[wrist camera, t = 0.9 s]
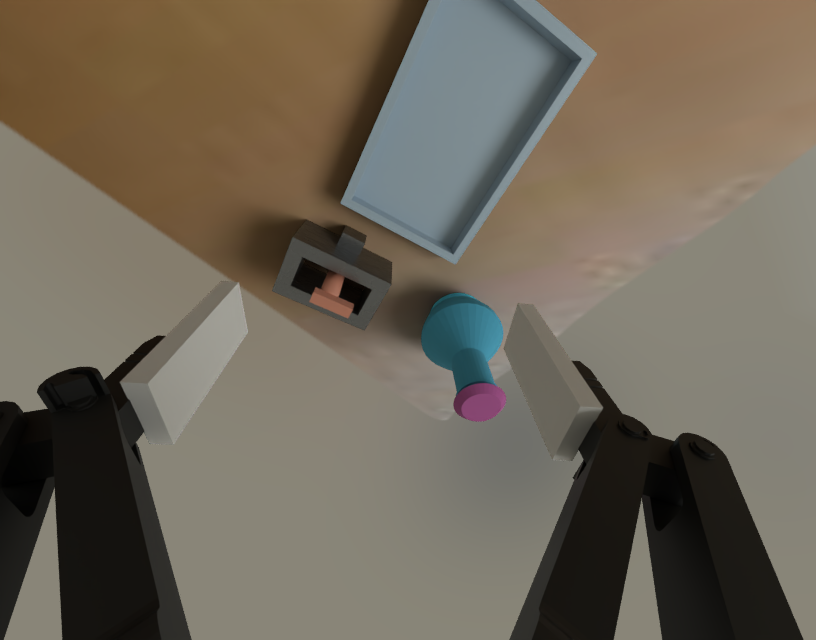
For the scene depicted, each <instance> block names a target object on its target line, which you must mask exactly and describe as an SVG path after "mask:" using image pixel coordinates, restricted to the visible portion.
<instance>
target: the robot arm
mask: <svg viewBox="0 0 816 640" xmlns="http://www.w3.org/2000/svg"><path fill="white" fill-rule="evenodd" d="M247 333H248V329H247V324H246V318H245V313H244V308H243V302H242V297H241V292H240V286H239V282H228V281H221V282H220V283H219V284H218V285H217V286H216V287H215V288H214V289H213V290H212V291H211V292H210V293H209V294H208V295H207V296H206V297H205V298H204V299H203V300H202V301H201V302H200V303H199V304H198V305H197V306H196V307H195V308H194V309H193V310H192V311H191V312H190V313H189V314H188V315H187V316H186V317H185V318H184V319H183V320H182V321H181V322H180V323H179V324H178V325H177V326H176V327H175V328H174V329H173V330H172V331H171V332H170V333H169V334H168V335H167V336H156V337H154V338H153V339H150V340H148V341H147V342H145V343H143V344H142V345H141V346H140V347H139V348H138V349H137V350H136V351H135V352H134V354H131V355H130V356H129V357H128V358H127V359H126V361H125V362H123V363H122V364H121V365H120V366H119V367H117V368H116V369H115V370H114V371H113V372H112V373H111V374H110V375H109V376H108V377H107V378H106V379H105V380H104V379H103V377H102V375H101V374H100V372H99V371H98V369H96V368H92V367H77V368H73V369H68V370H65V371H62V372H60V373H57V374H55V375H53V376H51V377H50V378H48V379H46V380H45V381H44V382H43V383H42V384H41V385H40V386H39V388H38V390H37V393H38V395H39V396H40V398H41V399H42V400H43V402H44V404H45V405H46V406H47V408H48V409H43V410H36V411H30V412H24V413H23V411H22V410H21V409H20V407H19V406H18V405H17V404H16V403H14V402H8V401H3V402H0V640H4V637H5V634H6V631H7V628H8V625H9V622H10V619H11V616H12V613H13V610H14V607H15V604H16V601H17V598H18V595H19V592H20V589H21V586H22V582H23V579H24V577H25V574H26V571H27V568H28V565H29V562H30V559H31V556H32V553H33V550H34V547H35V544H36V541H37V538H38V535H39V532H40V529H41V526H42V523H43V519H44V517H45V514H46V511H47V508H48V505H49V502H50V499H51V496H52V493H53V490H54V487H55V499H56V500H55V501H56V521H57V539H58V540H57V541H58V558H59V559H58V560H59V579H60V599H61V619H62V637H63V638H62V640H191V636H190V633H189V629H188V626H187V622H186V618H185V614H184V611H183V607H182V604H181V600H180V596H179V592H178V589H177V585H176V582H175V578H174V574H173V571H172V567H171V563H170V560H169V556H168V552H167V549H166V545H165V541H164V538H163V534H162V530H161V527H160V523H159V519H158V516H157V512H156V508H155V505H154V501H153V497H152V494H151V490H150V487H149V483H148V479H147V476H146V472H145V469H144V465H143V461H142V458H141V454H140V450H139V447H138V445H137V443H136V441H137V440H138V439H139V438H140V436H141V435H142V434H143V432H144V434H145V435H146V438H147V440H148V442H149V444H169V445H174V443H175V442H176V440H177V439H178V437H179V436H180V434H181V433H182V431H183V430H184V428H185V427H186V425H187V424H188V422H189V420H190V419H191V417H192V416H193V415H194V413H195V412H196V410H197V408H198V407H199V405H200V404H201V402H202V401H203V399H204V398H205V396H206V395H207V393H208V392H209V390H210V389H211V387H212V386H213V384H214V383H215V381H216V380H217V378H218V377H219V375H220V373H221V372H222V371H223V369H224V368H225V366H226V365H227V363H228V362H229V360H230V358H231V357H232V356H233V354H234V352H235V351H236V349H237V348H238V346H239V345H240V343H241V342H242V340H243V339H244V337H245V336H246V334H247ZM504 350H505V353H506V355H507V357H508V360H509V362H510V364H511V366H512V369H513V371H514V373H515V375H516V378H517V380H518V382H519V385H520V387H521V389H522V392H523V394H524V396H525V399H526V401H527V403H528V406H529V408H530V410H531V412H532V415H533V417H534V419H535V422H536V424H537V426H538V429H539V431H540V433H541V435H542V438H543V440H544V442H545V445H546V447H547V449H548V451H549V454H550V456H551V458H552V460H567V461H572V460H573V459H574V457H575V455H576V454H577V452H578V450H579V451H580V453H581V455H582V457H583V459H584V460H583V462H582V463H581V465H580V467H579V468H578V470H577V472H576V473H575V475H574V477H573V479H575V480H574V482H573V485H572V487H571V490H570V492H569V495H568V497H567V500H566V502H565V504H564V507H563V510H562V512H561V514H560V517H559V519H558V521H557V524H556V526H555V529H554V531H553V534H552V537H551V539H550V542H549V544H548V546H547V549H546V551H545V553H544V556H543V558H542V561H541V563H540V566H539V568H538V571H537V573H536V576H535V578H534V581H533V583H532V585H531V588H530V590H529V593H528V595H527V598H526V600H525V603H524V605H523V608H522V610H521V613H520V615H519V617H518V620H517V622H516V625H515V627H514V630H513V632H512V635H511V637H510V640H614V635H615V630H616V625H617V620H618V615H619V610H620V604H621V600H622V594H623V589H624V584H625V579H626V574H627V569H628V564H629V559H630V554H631V549H632V543H633V538H634V534H635V528H636V523H637V519H638V513H639V508H640V503H641V498H642V502H643V509H644V516H645V523H646V529H647V537H648V543H649V551H650V558H651V563H652V571H653V578H654V585H655V592H656V599H657V606H658V613H659V620H660V627H661V634H662V640H803V637H802V635H801V633H800V630H799V628H798V626H797V623H796V621H795V619H794V616H793V614H792V611H791V609H790V607H789V604H788V602H787V599H786V597H785V595H784V592H783V590H782V587H781V585H780V583H779V581H778V578H777V576H776V573H775V571H774V568H773V566H772V564H771V561H770V559H769V557H768V554H767V552H766V549H765V547H764V545H763V542H762V540H761V537H760V535H759V533H758V530H757V528H756V526H755V523H754V521H753V519H752V516H751V514H750V511H749V509H748V507H747V504H746V502H745V499H744V497H743V495H742V492H741V490H740V488H739V485H738V483H737V480H736V478H735V476H734V474H733V471H732V469H731V466H730V464H729V461H728V459H727V457H726V456H725V454H724V453H723V452H722V451H721V450H720V449H719V448H718V447H717V446H716V445H715V444H714V443H712V442H710V441H709V440H707V439H706V438H703V437H701V436H699V435H696V434H691V433H682V434H681V435H680V436H679V437H678V438H677V439H676V440H675V441H672V440H668V439H665V438H662V437H658V436H655V435H652V434H651V432H650V431H649V429H648V428H647V427H646V426H645V425H644V424H643V423H641V422H640V421H638V420H637V419H635V418H633V417H630V416H628V415H625V414H622V413H621V411H620V410H619V408H618V407H617V406H616V404H615V403H614V402H613V400H612V399H611V398H610V396H609V395H608V394H607V392H606V391H605V389H603V388H602V387H603V386H602V385H601V384H600V382H599V381H597V378H596V377H595V375H594V374H593V373H592V371H591V370H590V369H589V368H588V367H586V366H585V365H584V364H582V363H581V362H580V361H571V360H570V358H569V357H568V355H567V354H566V352H565V351H564V349H563V348H562V346H561V345H560V343H559V342H558V340H557V339H556V337H555V336H554V334H553V333H552V331H551V330H550V329H549V327H548V326H547V324H546V323H545V321H544V320H543V318H542V317H541V315H540V314H539V312H538V311H537V309H536V308H535V306H534V305H533V304H520V303H518V305H517V308H516V311H515V314H514V317H513V320H512V324H511V327H510V330H509V333H508V336H507V340H506V343H505V346H504Z"/></svg>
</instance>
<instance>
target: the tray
mask: <svg viewBox="0 0 816 640" xmlns="http://www.w3.org/2000/svg"><path fill="white" fill-rule="evenodd" d="M596 55H597V53H596V52H595V51H594V50H593V49H591V48H590V47H589V46H588V45H587V44H586V43H584V42H583V41H582V40H581V39H580V38H579V37H577V36H576V35H575V34H574V33H573V32H572V31H571V30H569V29H568V28H567V27H566V26H565V25H564V24H562V23H561V22H560V21H559V20H558V19H557V18H556V17H554V16H553V15H552V14H551V13H550V12H549V11H547V10H546V9H545V8H544V7H543V6H542V5H541V4H539V3H538V2H537V1H536V0H429V1H428V3H427V5H426V8H425V10H424V12H423V15H422V17H421V19H420V22H419V24H418V26H417V28H416V31H415V33H414V35H413V38H412V40H411V42H410V44H409V47H408V49H407V51H406V54H405V56H404V58H403V61H402V63H401V65H400V67H399V70H398V72H397V74H396V77H395V79H394V81H393V84H392V86H391V88H390V90H389V93H388V95H387V97H386V100H385V102H384V104H383V107H382V109H381V111H380V113H379V116H378V118H377V120H376V123H375V125H374V127H373V129H372V132H371V134H370V136H369V139H368V141H367V143H366V146H365V148H364V150H363V152H362V155H361V157H360V159H359V162H358V164H357V166H356V169H355V171H354V173H353V175H352V178H351V180H350V182H349V185H348V187H347V189H346V191H345V194H344V196H343V198H342V201H341V204H342V205H344V206H346V207H348V208H350V209H352V210H354V211H356V212H357V213H359V214H361V215H363V216H365V217H367V218H369V219H371V220H373V221H374V222H376V223H378V224H380V225H382V226H384V227H386V228H388V229H389V230H391V231H393V232H395V233H397V234H399V235H401V236H403V237H405V238H406V239H408V240H410V241H412V242H414V243H416V244H418V245H420V246H422V247H423V248H425V249H427V250H429V251H431V252H433V253H435V254H437V255H438V256H440V257H442V258H444V259H446V260H448V261H450V262H452V263H454V264H455V265H456V263H457V262H458V260H459V259H460V257H461V256H462V254H463V253H464V251H465V250H466V248H467V247H468V245H469V244H470V242H471V241H472V239H473V238H474V236H475V235H476V233H477V232H478V230H479V229H480V227H481V226H482V224H483V223H484V221H485V220H486V218H487V217H488V215H489V214H490V212H491V211H492V210H493V208H494V207H495V205H496V204H497V202H498V201H499V199H500V198H501V196H502V195H503V193H504V192H505V190H506V189H507V187H508V186H509V184H510V183H511V181H512V180H513V178H514V177H515V175H516V174H517V172H518V171H519V169H520V168H521V166H522V165H523V163H524V162H525V160H526V159H527V157H528V156H529V154H530V153H531V151H532V150H533V149H534V147H535V146H536V144H537V143H538V141H539V140H540V138H541V137H542V135H543V134H544V132H545V131H546V129H547V128H548V126H549V125H550V123H551V122H552V120H553V119H554V117H555V116H556V114H557V113H558V111H559V110H560V108H561V107H562V105H563V104H564V102H565V101H566V99H567V98H568V96H569V95H570V93H571V92H572V90H573V89H574V88H575V86H576V85H577V83H578V82H579V80H580V79H581V77H582V76H583V74H584V73H585V71H586V70H587V68H588V67H589V65H590V64H591V62H592V61H593V59H594V58H595V56H596Z"/></svg>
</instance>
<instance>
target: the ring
mask: <svg viewBox="0 0 816 640" xmlns="http://www.w3.org/2000/svg"><path fill="white" fill-rule="evenodd" d="M366 237H367V236H366V235H364V234H362V233H360V232H358V231H356V230H354V229H352V228H351V227H349V226H347V225H346V226H345V228H344V230H343V233H342V235H341V236H339V235H337V234H335V233H333V232H331V231H329V230H327V229H325V228H323V227H321V226H319V225H317V224H315V223H313V222H311V221H309V220H306V221H305V222H304V223H303V225H302V226H301V227H300V228H299V230H298V231H297V232H296V233H295V235H294V236H293V237H292V240H291V243H290V245H289V248H288V251H287V253H286V256H285V258H284V261H283V264H282V266H281V269H280V271H279V274H278V277H277V279H276V282H275V284H274V287H273V290H272V291H273V292H275V293H278V294H280V295H282V296H285V297H287V298H289V299H292V300H294V301H297V302H299V303H301V304H304V305H306V306H308V307H311V308H313V309H315V310H318V311H320V312H322V313H325V314H327V315H329V316H332V317H334V318H336V319H339V320H341V321H343V322H346V323H348V324H351V325H353V326H355V327H358V328H360V329H362V330H365V329H366V327H367V325H368V324H369V322H370V320H371V319H372V317H373V315H374V313H375V312H376V310H377V308H378V307H379V305H380V303H381V301H382V300H383V298H384V296H385V295H386V293H387V291H388V289H389V288H390V286H391V281H392V262H390V261H388V260H386V259H384V258H382V257H380V256H378V255H376V254H374V253H372V252H370V251H368V250H366V249H364V248H363V246H364V244H365V241H366ZM305 259H308V260H310V261H312V262H314V263H316V264H318V265H321V266H323V267H325V268H327V269H329V270H331V271H333V272H336V273H338V274H340V275H342V276H344V277H346V278H348V279H351V280H353V281H355V282H357V283H359V284H361V285H363V286H365V287H364V289H363V291H362V290H360V289H358V288H356V287H354V286H351V285H349V284H347V283H345V282H343V284H342V288H341V291H340V294H339V298H341V299H344V300H346V301H348V302H350V303H353V304H354V307H353V310H352V312H351V314H350V316H349V318H346V317H343V316H341V315H339V314H336V313H334V312H332V311H329V310H327V309H325V308H322V307H320V306H318V305H315V304H313V303H311V302H309V301H310V299H311V296H312V294H313V292H314V290H315V288H316V287H317V288H319V289H321V287H322V285H323V283H324V280H325V278H326V275H327V274H325V273H323V272H321V271H319V270H317V269H315V268H312V267H310V266H308V265H306V264H304V261H305Z"/></svg>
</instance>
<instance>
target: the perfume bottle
mask: <svg viewBox="0 0 816 640" xmlns="http://www.w3.org/2000/svg"><path fill="white" fill-rule="evenodd" d="M502 339H503V327H502V324H501V321H500V320H499V318H498V317H497V315H496V314H495V312H494V311H493V310H492V309H491V308H489V307H488V306H487V305H485V304H484V303H482V302H480V301H478V300H476V299H475V298H474V297H472V296H471V295H468V294H465V293H452V294H448V295H446V296H444V297H442V298H440V299H439V300H438V301H437V302H436V303H435V304H434V305H433V307H432V309H431V311H430V314H429V316H428V317H427V319H426V321H425V323H424V326H423V329H422V335H421V342H422V347H423V351H424V352H425V354H426V356H427V357H428V358H429V359H430V360H431V361H432V362H434V363H435V364H436V365H439V366H441V367H443V368H445V369H448V370H451V371H453V375H454V380H455V385H456V389H457V394H456V397H455V400H454V409H455V411H456V413H457V414H458V415H459V416H461V417H463V418H465V419H468V420H471V421H486V420H489V419H491V418H493V417H494V416H496V415H497V414H498V413H499V412H500V411H501V410H502V409H503V407H504V405H505V403H506V396H505V393H504V392H503V390H502V389H501V388H499V387H498V386H497V385H496V384H495V383H494V380H493V377H492V374H491V372H490V369H489V366H488V363H487V362H488V361H489V360H490V359H491V358H492V357H493V356H494V354H495V353H496V352H497V350H498V349H499V347H500V345H501V342H502Z"/></svg>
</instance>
